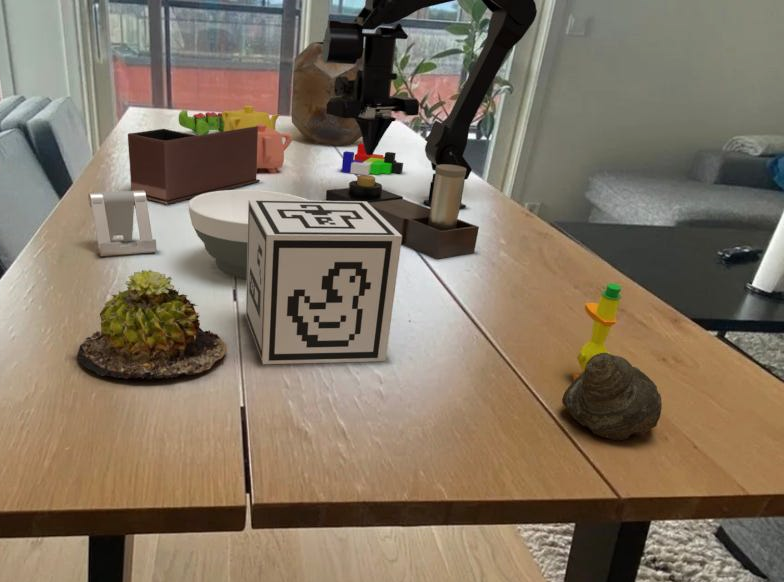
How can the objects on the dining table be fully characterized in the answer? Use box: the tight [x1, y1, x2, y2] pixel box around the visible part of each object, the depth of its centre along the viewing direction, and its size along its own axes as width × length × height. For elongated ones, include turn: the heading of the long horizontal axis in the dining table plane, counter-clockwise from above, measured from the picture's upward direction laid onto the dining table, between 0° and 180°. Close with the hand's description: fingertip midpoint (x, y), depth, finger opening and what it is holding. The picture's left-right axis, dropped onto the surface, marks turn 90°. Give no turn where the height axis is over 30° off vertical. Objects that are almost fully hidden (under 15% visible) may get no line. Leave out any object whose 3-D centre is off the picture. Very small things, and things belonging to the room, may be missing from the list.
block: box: [245, 200, 402, 365], centre depth 93 cm, size 15×15×15 cm
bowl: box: [187, 189, 311, 280], centre depth 115 cm, size 20×20×10 cm
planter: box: [290, 41, 364, 147], centre depth 208 cm, size 22×24×24 cm
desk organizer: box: [127, 126, 261, 205], centre depth 156 cm, size 10×29×11 cm, turn 145°
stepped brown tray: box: [369, 198, 480, 260], centre depth 136 cm, size 9×20×4 cm, turn 34°
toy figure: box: [573, 282, 622, 381], centre depth 88 cm, size 7×4×12 cm, turn 8°
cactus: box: [76, 268, 227, 380], centre depth 87 cm, size 17×16×10 cm
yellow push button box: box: [325, 180, 404, 203], centre depth 155 cm, size 12×10×4 cm
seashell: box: [561, 353, 663, 441], centre depth 80 cm, size 11×12×10 cm
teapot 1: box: [221, 105, 282, 131], centre depth 194 cm, size 14×13×10 cm
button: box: [356, 174, 376, 187], centre depth 154 cm, size 4×4×2 cm
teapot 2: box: [256, 124, 293, 174], centre depth 175 cm, size 12×12×10 cm
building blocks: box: [341, 142, 404, 176], centre depth 185 cm, size 15×13×4 cm
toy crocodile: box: [178, 109, 225, 135], centre depth 211 cm, size 20×7×6 cm, turn 114°
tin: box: [428, 164, 466, 231], centre depth 130 cm, size 5×5×13 cm
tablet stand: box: [87, 190, 157, 257], centre depth 120 cm, size 9×8×8 cm
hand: (368, 154), depth 151 cm, fingers closed
